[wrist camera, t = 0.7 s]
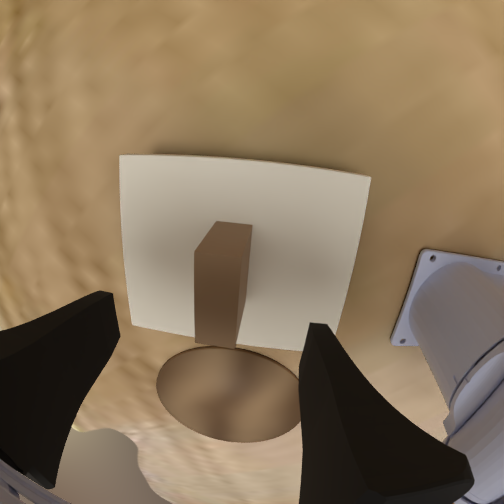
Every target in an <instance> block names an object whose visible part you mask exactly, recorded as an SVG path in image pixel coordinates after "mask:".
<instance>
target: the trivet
mask: <svg viewBox="0 0 504 504" xmlns="http://www.w3.org/2000/svg"><path fill="white" fill-rule="evenodd" d="M298 384H299V380H298V379H297V377H296V376H295V375H294V374H293V373H292V372H291V371H289V370H288V369H287V368H286V367H284V366H283V365H281V364H279V363H278V362H276V361H274V360H272V359H270V358H268V357H266V356H263V355H260V354H258V353H255V352H251V351H247V350H243V349H238V348H235V349H232V348H225V347H219V346H210V347H199V348H194V349H190V350H187V351H184V352H181V353H179V354H177V355H175V356H173V357H172V358H171V359H169V360H168V361H167V362H166V363H165V364H164V365H163V367H162V368H161V370H160V372H159V375H158V377H157V383H156V387H157V393H158V396H159V398H160V401H161V403H162V404H163V406H164V407H165V409H166V410H167V411H168V412H169V413H170V414H171V415H172V416H173V417H174V418H175V419H176V420H178V421H179V422H180V423H181V424H183V425H185V426H186V427H188V428H190V429H191V430H193V431H195V432H198V433H200V434H202V435H205V436H208V437H211V438H214V439H218V440H223V441H229V442H241V443H248V442H260V441H265V440H269V439H273V438H276V437H279V436H281V435H283V434H285V433H287V432H289V431H290V430H291V429H293V428H294V427H295V426H296V425H297V424H298V423H299V422H300V421H301V417H300V405H299V392H298Z"/></svg>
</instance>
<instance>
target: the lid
mask: <svg viewBox="0 0 504 504" xmlns="http://www.w3.org/2000/svg"><path fill="white" fill-rule="evenodd" d="M370 182H371V177H370V176H368V175H364V174H358V173H352V172H346V171H340V170H334V169H327V168H321V167H314V166H306V165H299V164H291V163H282V162H273V161H264V160H253V159H242V158H230V157H216V156H198V155H175V154H123V155H120V210H121V229H122V243H123V255H124V266H125V275H126V284H127V292H128V299H129V307H130V313H131V320H132V325H135V326H140V327H144V328H149V329H154V330H159V331H164V332H169V333H174V334H180V335H185V336H191V337H195V343H200V344H206V345H212V346H219V347H225V348H232V349H235V346H236V344H242V345H250V346H258V347H266V348H275V349H285V350H295V351H303V348H304V344H305V340H306V336H307V332H308V328H309V323H310V322H312V323H322V324H328V326H329V327H330V329H331V330H332V332H333V333H334V335H335V334H336V331H337V327H338V324H339V320H340V317H341V313H342V310H343V306H344V302H345V299H346V295H347V291H348V287H349V283H350V279H351V275H352V271H353V267H354V262H355V258H356V254H357V249H358V245H359V240H360V235H361V231H362V226H363V221H364V216H365V210H366V205H367V199H368V194H369V188H370Z"/></svg>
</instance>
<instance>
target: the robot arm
mask: <svg viewBox="0 0 504 504" xmlns="http://www.w3.org/2000/svg"><path fill="white" fill-rule="evenodd" d="M432 255H434V257H433V259H431V260H430V257H431V256H432ZM497 267H498V268H497ZM119 338H120V331H119V326H118V321H117V316H116V310H115V304H114V298H113V293H109V292H104V291H97V292H94V293H92V294H89V295H87V296H85V297H82V298H80V299H78V300H76V301H74V302H72V303H70V304H68V305H66V306H63V307H61V308H59V309H57V310H55V311H53V312H51V313H48V314H46V315H44V316H41V317H39V318H37V319H35V320H32V321H30V322H27V323H25V324H22V325H19V326H16V327H13V328H10V329H7V330H3V331H0V504H25V503H24V502H23V501H21V500H20V498H19V494H18V493H20V494H21V495H23V496H24V497H26V498H27V499H28V500H30V501H32V502H33V503H35V504H71V503H69V502H67V501H65V500H63V499H62V498H60V497H58V496H56V495H54V494H52V493H51V492H49V491H47V490H46V489H52V488H54V487H55V483H56V478H57V473H58V468H59V464H60V459H61V456H62V452H63V449H64V446H65V443H66V440H67V437H68V434H69V432H70V429H71V426H72V424H73V421H74V419H75V417H76V415H77V412H78V410H79V408H80V406H81V404H82V402H83V400H84V398H85V397H86V395H87V393H88V392H89V390H90V389H91V387H92V386H93V384H94V382H95V381H96V379H97V378H98V376H99V375H100V373H101V372H102V370H103V368H104V367H105V365H106V364H107V362H108V361H109V359H110V357H111V355H112V353H113V351H114V349H115V347H116V345H117V343H118V340H119ZM401 339H403V340H402V341H400V340H401ZM390 341H391V344H392V345H394V346H420V348H421V350H422V352H423V354H424V356H425V358H426V360H427V363H428V365H429V367H430V369H431V371H432V373H433V375H434V377H435V379H436V382H437V384H438V386H439V388H440V390H441V393H442V395H443V397H444V399H445V402H446V404H447V406H448V409H449V411H450V412H449V415H448V416H447V418H446V419H445V420H444V421H443V424H444V427H445V429H446V432H447V435H448V436H447V437H446V438H445V439H444V441H443V442H440V441H439V440H437V439H435V438H434V437H432V436H431V435H429V434H428V433H426V432H425V431H423V430H422V429H420V428H419V427H418V426H416V425H415V424H413V423H412V422H411V421H410V420H408V419H407V418H406V417H405V416H404V415H402V414H401V413H400V412H399V411H397V410H396V409H395V408H394V407H393V406H392V405H391V404H390V403H389V402H388V401H387V400H386V399H385V398H384V397H383V396H382V395H381V394H380V393H379V392H378V391H377V390H376V389H375V388H374V387H373V386H372V385H371V384H370V383H369V381H368V380H367V379H366V378H365V377H364V375H363V374H362V373H361V372H360V370H359V369H358V368H357V366H356V365H355V364H354V362H353V361H352V360H351V358H350V357H349V356H348V354H347V353H346V351H345V350H344V348H343V347H342V345H341V344H340V342H339V341H338V339H337V338H336V336H335V335H334V333H333V332H332V330H331V329H330V327H329V326H328V324H322V323H312V322H310V323H309V328H308V332H307V336H306V340H305V344H304V348H303V352H302V356H301V360H300V364H299V384H298V392H299V405H300V417H301V429H302V444H303V456H302V474H301V487H300V498H299V504H453V503H455V504H504V261H498V260H492V259H487V258H481V257H475V256H469V255H463V254H456V253H450V252H444V251H438V250H431V249H424V250H422V251H421V252H420V255H419V258H418V261H417V265H416V268H415V271H414V274H413V278H412V281H411V284H410V287H409V290H408V293H407V296H406V299H405V302H404V304H403V307H402V310H401V313H400V315H399V318H398V321H397V323H396V326H395V328H394V331H393V333H392V336H391V339H390ZM17 471H18V472H17ZM19 472H20V473H21V474H23V475H25V476H26V477H28V478H29V479H31V480H32V481H34V482H36V483H37V484H39V485H40V486H39V485H37V484H36V483H34V482H32V481H31V480H29V479H28V478H26V477H25V476H23V475H21V474H20V473H19ZM41 486H42V487H44V488H45V489H44V488H42V487H41Z"/></svg>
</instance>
